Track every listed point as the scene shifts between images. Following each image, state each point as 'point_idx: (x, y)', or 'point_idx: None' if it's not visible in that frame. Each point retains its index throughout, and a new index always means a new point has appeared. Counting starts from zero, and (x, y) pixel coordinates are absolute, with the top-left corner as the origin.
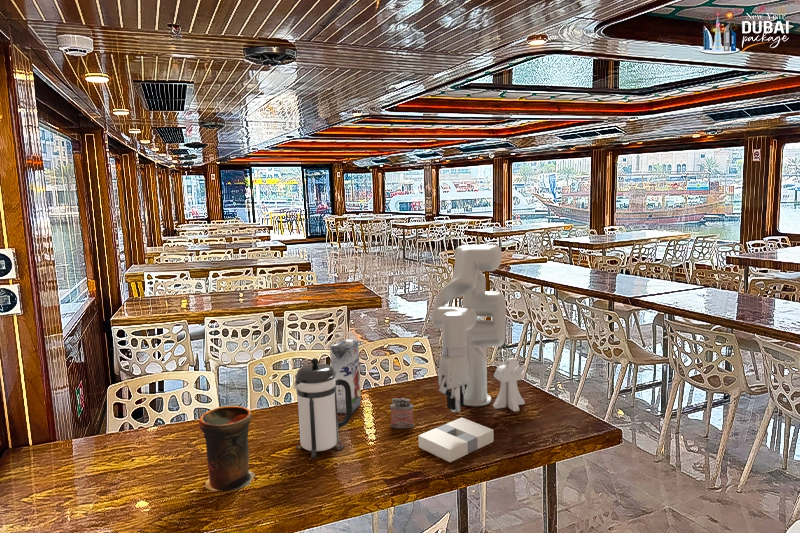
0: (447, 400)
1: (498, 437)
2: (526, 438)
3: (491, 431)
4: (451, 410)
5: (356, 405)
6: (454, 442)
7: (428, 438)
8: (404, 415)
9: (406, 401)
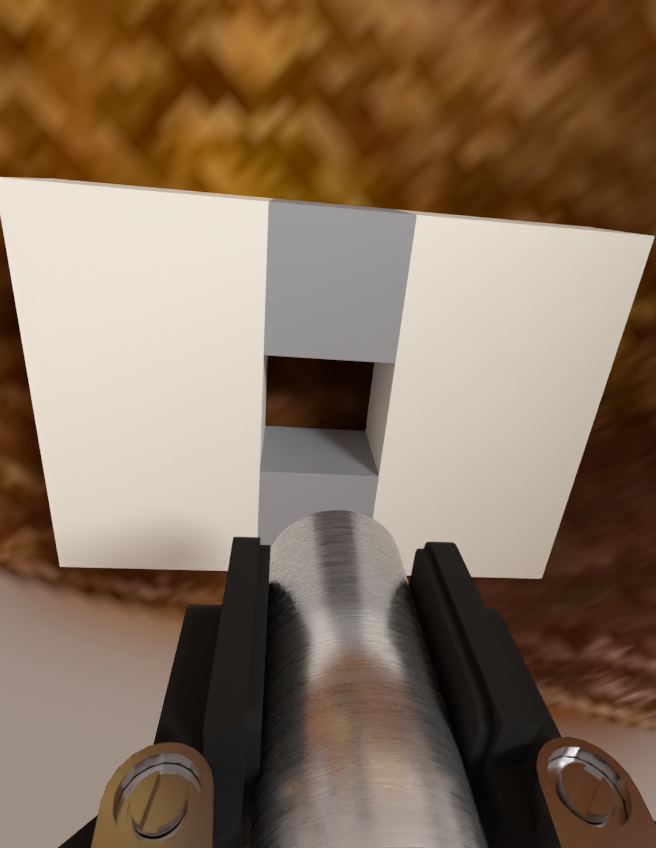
0: (166, 696)
1: (577, 510)
2: (641, 614)
3: (518, 573)
4: (271, 553)
5: None
6: (172, 521)
7: (41, 316)
8: None
9: None
